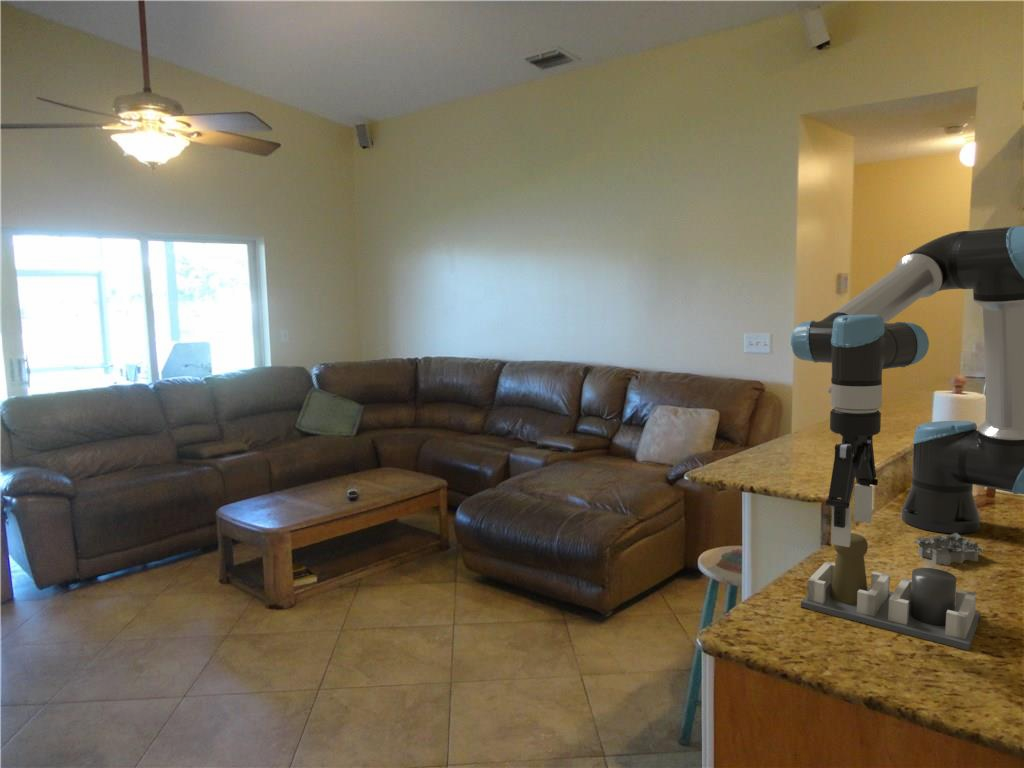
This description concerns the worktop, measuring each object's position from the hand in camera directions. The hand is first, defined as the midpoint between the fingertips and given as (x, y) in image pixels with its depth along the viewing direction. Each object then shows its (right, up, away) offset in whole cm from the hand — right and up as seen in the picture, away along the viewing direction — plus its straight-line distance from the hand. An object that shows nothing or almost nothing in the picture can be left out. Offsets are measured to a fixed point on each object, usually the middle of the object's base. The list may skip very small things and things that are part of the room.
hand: (852, 532), depth 118 cm
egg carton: (+29, -10, +20) cm, 37 cm away
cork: (0, -11, +1) cm, 12 cm away
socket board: (+5, -13, -3) cm, 14 cm away
